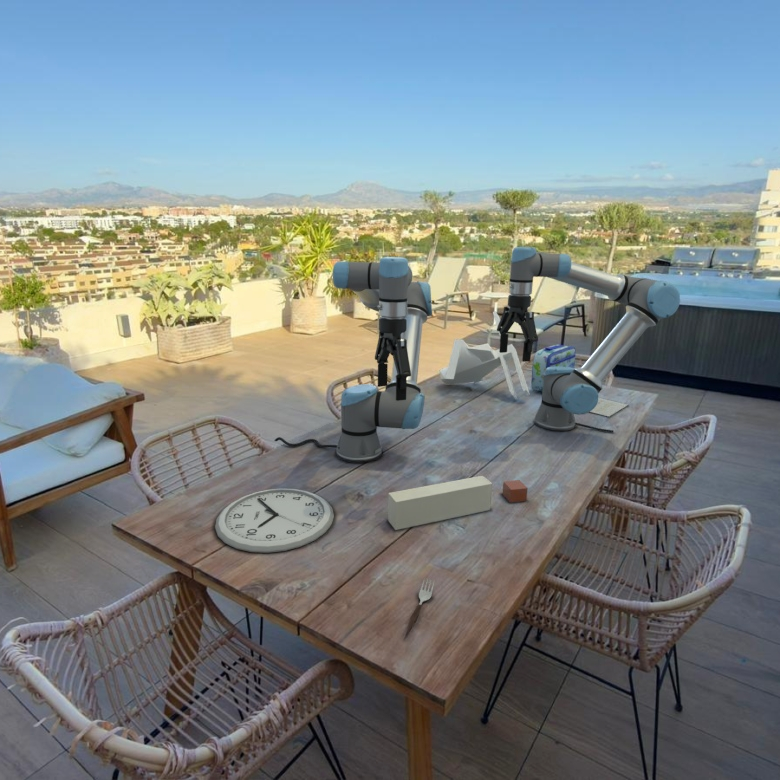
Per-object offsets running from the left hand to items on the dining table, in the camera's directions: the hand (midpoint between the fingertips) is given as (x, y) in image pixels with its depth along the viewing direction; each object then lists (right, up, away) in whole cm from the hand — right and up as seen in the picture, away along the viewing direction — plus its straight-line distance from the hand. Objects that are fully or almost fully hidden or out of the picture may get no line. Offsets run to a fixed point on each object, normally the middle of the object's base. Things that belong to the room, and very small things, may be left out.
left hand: (391, 392), depth 146 cm
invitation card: (+91, -7, +80) cm, 122 cm away
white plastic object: (+41, 0, +97) cm, 106 cm away
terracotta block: (+35, -30, +3) cm, 46 cm away
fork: (+5, -43, -42) cm, 61 cm away
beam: (+13, -33, -7) cm, 36 cm away
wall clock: (-30, -33, -10) cm, 46 cm away
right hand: (+43, +12, +35) cm, 57 cm away
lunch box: (+77, +1, +104) cm, 129 cm away
